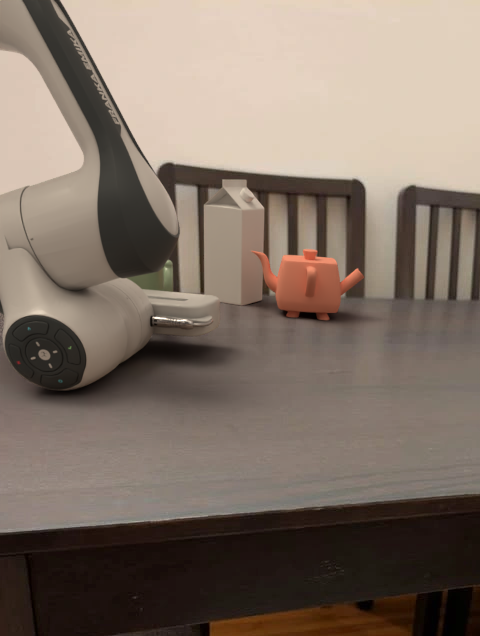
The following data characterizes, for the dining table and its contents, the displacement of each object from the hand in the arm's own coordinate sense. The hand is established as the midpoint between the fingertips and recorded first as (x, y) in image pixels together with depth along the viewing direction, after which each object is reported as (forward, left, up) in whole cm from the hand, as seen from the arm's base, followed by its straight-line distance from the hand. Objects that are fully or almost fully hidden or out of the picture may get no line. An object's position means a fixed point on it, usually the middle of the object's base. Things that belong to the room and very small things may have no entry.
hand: (149, 296), depth 90 cm
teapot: (+17, +27, -6) cm, 32 cm away
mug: (-6, +13, -6) cm, 15 cm away
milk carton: (+4, +33, -6) cm, 34 cm away
